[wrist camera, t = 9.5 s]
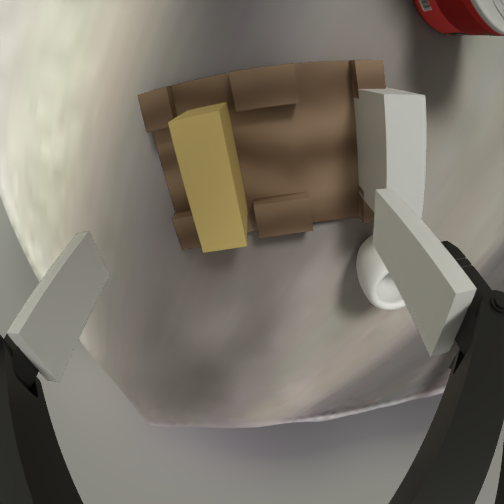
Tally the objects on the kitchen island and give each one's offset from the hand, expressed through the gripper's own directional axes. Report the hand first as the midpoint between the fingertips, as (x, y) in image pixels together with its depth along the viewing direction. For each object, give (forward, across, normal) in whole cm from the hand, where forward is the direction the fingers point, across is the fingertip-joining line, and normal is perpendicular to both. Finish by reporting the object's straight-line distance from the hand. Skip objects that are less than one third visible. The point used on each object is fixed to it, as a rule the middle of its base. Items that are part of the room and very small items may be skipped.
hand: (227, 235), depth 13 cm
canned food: (+21, +25, +15) cm, 36 cm away
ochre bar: (+20, -3, -2) cm, 20 cm away
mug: (+21, +17, -17) cm, 32 cm away
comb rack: (+20, +3, -2) cm, 21 cm away
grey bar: (+20, +14, -2) cm, 24 cm away
